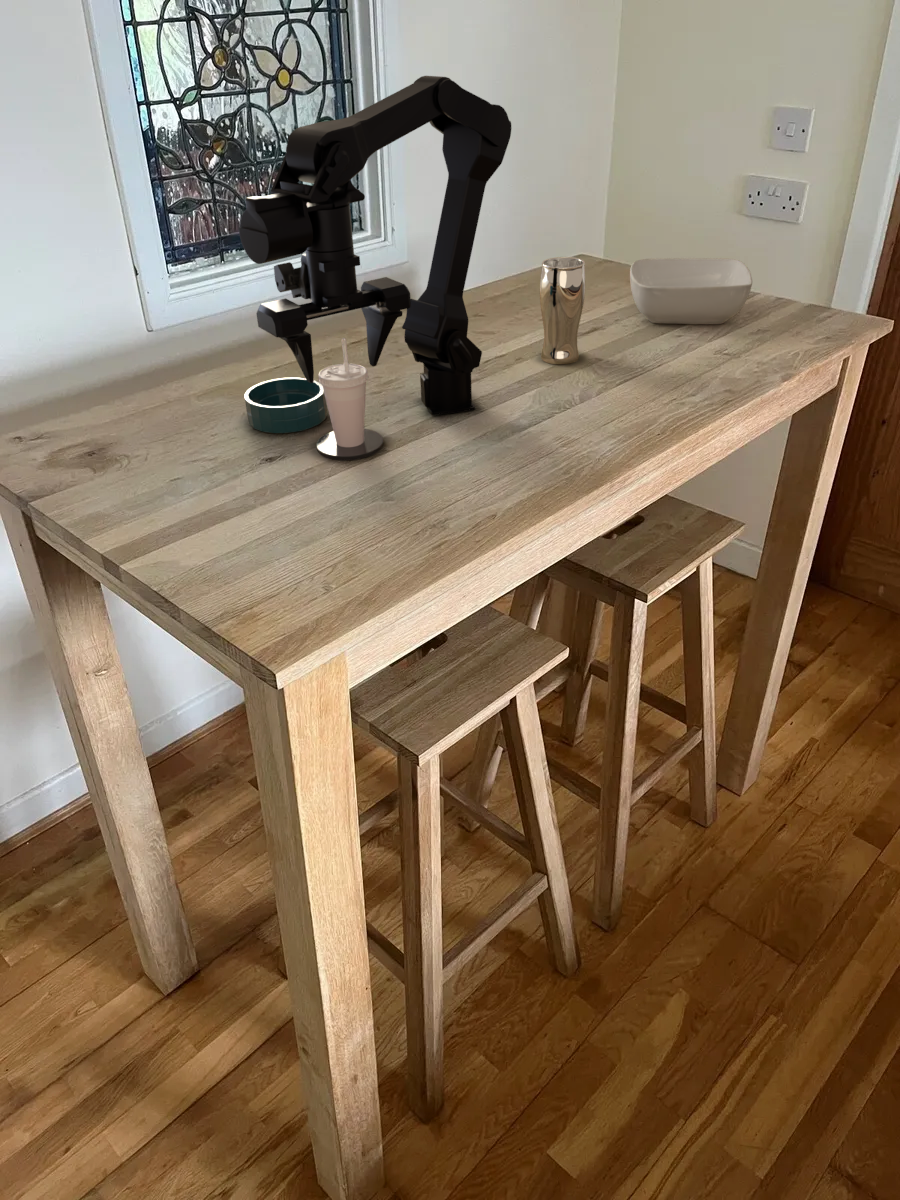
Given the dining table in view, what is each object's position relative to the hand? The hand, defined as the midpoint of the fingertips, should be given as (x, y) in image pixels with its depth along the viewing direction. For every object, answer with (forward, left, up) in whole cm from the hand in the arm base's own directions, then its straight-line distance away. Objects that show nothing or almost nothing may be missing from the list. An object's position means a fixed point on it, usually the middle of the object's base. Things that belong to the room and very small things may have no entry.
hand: (342, 373), depth 117 cm
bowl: (-67, -36, -10) cm, 77 cm away
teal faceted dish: (+7, -12, -10) cm, 17 cm away
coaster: (0, 0, -10) cm, 10 cm away
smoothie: (0, 0, -10) cm, 10 cm away
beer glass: (-38, -22, -10) cm, 45 cm away
